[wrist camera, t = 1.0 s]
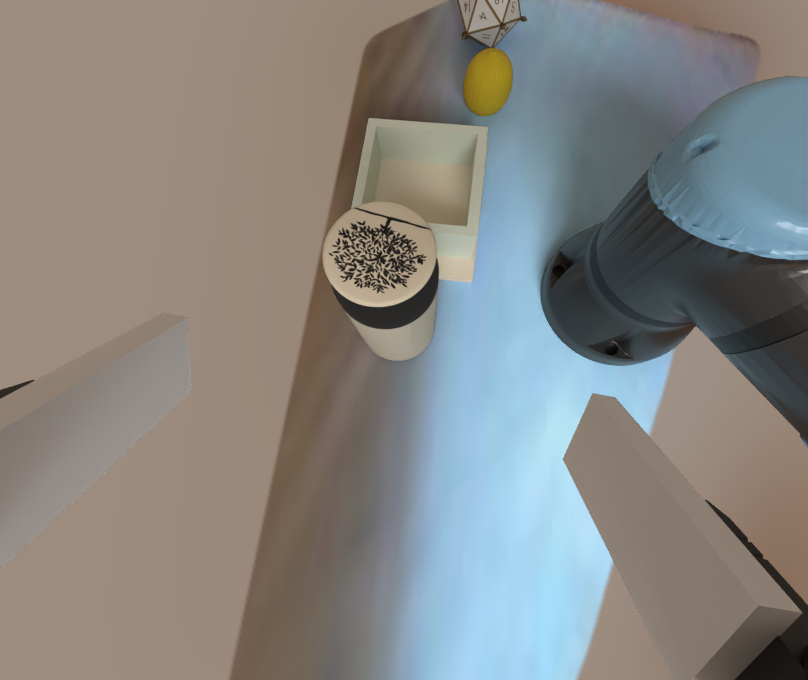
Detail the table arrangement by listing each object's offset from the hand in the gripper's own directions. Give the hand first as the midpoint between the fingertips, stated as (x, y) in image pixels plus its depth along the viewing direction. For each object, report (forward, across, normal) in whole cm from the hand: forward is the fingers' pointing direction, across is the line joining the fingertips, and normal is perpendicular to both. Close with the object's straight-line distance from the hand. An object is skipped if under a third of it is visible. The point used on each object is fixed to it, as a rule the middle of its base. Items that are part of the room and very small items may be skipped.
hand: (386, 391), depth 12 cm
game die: (+52, +5, +24) cm, 58 cm away
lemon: (+45, +6, +15) cm, 48 cm away
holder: (+37, 0, +3) cm, 37 cm away
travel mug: (+29, 0, -9) cm, 30 cm away
